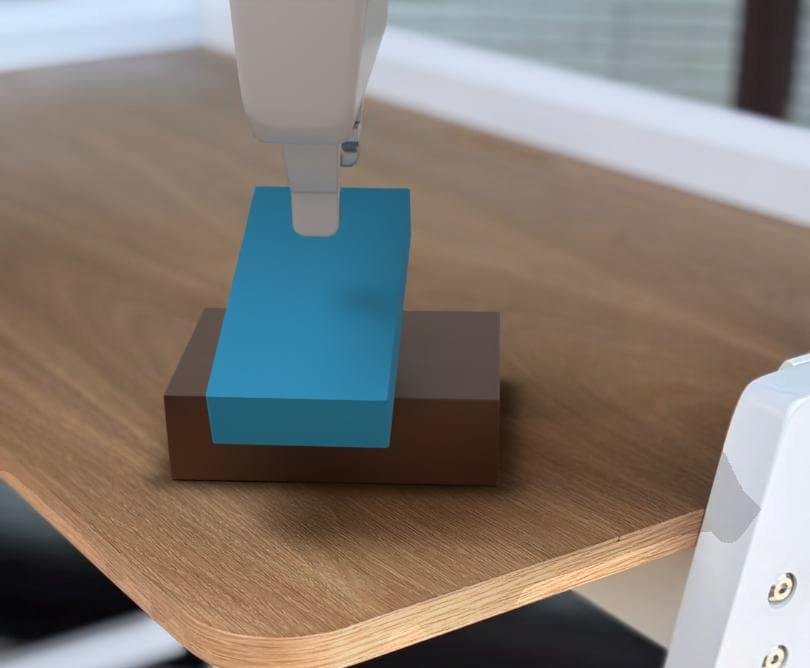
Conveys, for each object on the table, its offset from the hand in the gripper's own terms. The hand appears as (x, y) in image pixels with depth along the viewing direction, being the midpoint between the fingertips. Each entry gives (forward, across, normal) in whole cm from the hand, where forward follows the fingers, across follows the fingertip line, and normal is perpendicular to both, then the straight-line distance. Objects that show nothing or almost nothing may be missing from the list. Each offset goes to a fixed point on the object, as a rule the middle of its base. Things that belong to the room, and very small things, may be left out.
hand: (329, 194), depth 63 cm
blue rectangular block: (+7, +1, 0) cm, 7 cm away
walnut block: (+11, 0, 0) cm, 11 cm away
